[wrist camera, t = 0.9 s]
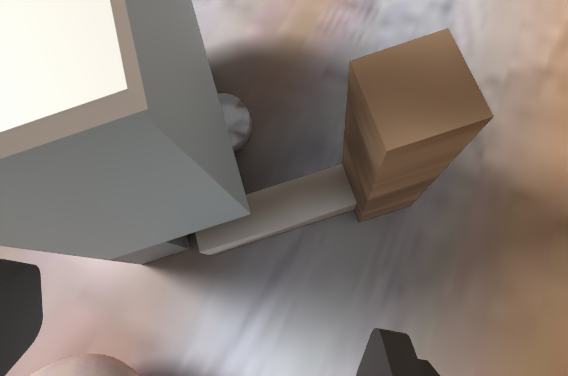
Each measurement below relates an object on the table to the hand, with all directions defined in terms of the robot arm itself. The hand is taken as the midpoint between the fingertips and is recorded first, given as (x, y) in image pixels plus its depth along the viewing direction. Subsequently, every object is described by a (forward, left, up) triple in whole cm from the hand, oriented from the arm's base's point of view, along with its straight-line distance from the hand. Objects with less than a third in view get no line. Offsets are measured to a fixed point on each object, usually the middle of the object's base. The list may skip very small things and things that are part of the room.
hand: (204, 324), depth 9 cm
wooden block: (-7, 0, -19) cm, 20 cm away
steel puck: (-12, -9, -19) cm, 24 cm away
